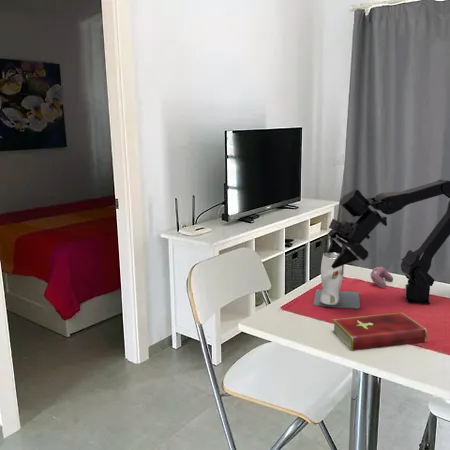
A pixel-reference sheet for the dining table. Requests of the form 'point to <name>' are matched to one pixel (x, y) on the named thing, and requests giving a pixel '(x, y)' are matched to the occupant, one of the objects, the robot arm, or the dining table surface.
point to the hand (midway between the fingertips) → (328, 264)
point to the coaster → (345, 300)
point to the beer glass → (330, 279)
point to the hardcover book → (379, 331)
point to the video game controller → (380, 276)
